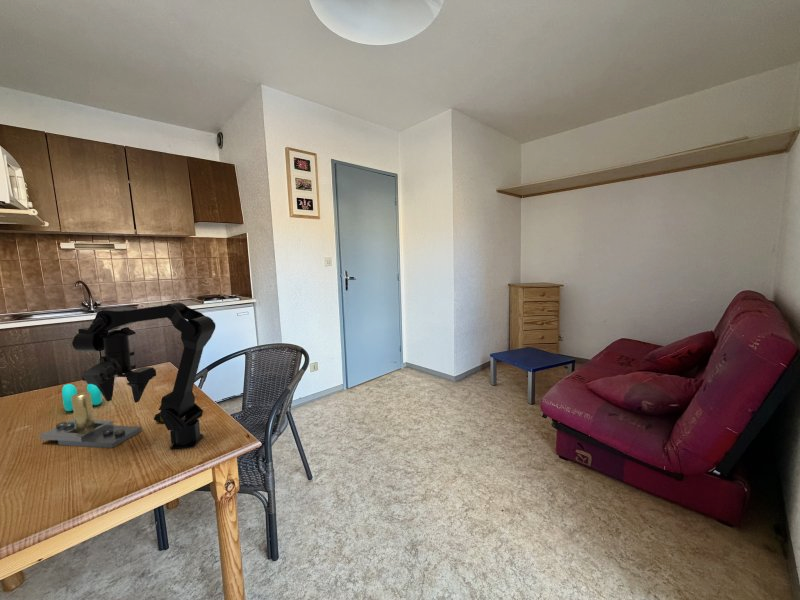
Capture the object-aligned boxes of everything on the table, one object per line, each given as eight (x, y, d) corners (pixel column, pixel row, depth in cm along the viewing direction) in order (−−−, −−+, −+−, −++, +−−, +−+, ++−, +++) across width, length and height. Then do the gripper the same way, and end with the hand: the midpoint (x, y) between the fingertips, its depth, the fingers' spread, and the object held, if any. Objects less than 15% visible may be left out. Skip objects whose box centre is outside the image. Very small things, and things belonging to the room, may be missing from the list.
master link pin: (100, 433, 101) (94, 392, 99) (85, 441, 97) (78, 397, 95) (89, 433, 102) (82, 391, 100) (74, 440, 98) (67, 397, 96)
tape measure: (171, 414, 114) (171, 404, 114) (188, 416, 113) (187, 406, 113) (154, 424, 108) (153, 413, 107) (171, 425, 106) (170, 415, 106)
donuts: (65, 407, 121) (62, 382, 119) (101, 399, 128) (98, 375, 126) (64, 416, 114) (61, 389, 112) (102, 407, 121) (99, 381, 119)
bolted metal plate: (141, 431, 103) (140, 419, 102) (112, 448, 93) (110, 435, 93) (76, 427, 105) (74, 416, 105) (41, 444, 96) (39, 431, 95)
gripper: (57, 358, 86) (64, 412, 88) (118, 359, 84) (125, 415, 86) (99, 347, 97) (105, 396, 99) (155, 348, 95) (160, 398, 97)
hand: (123, 401), depth 95 cm, fingers open, 9 cm apart
